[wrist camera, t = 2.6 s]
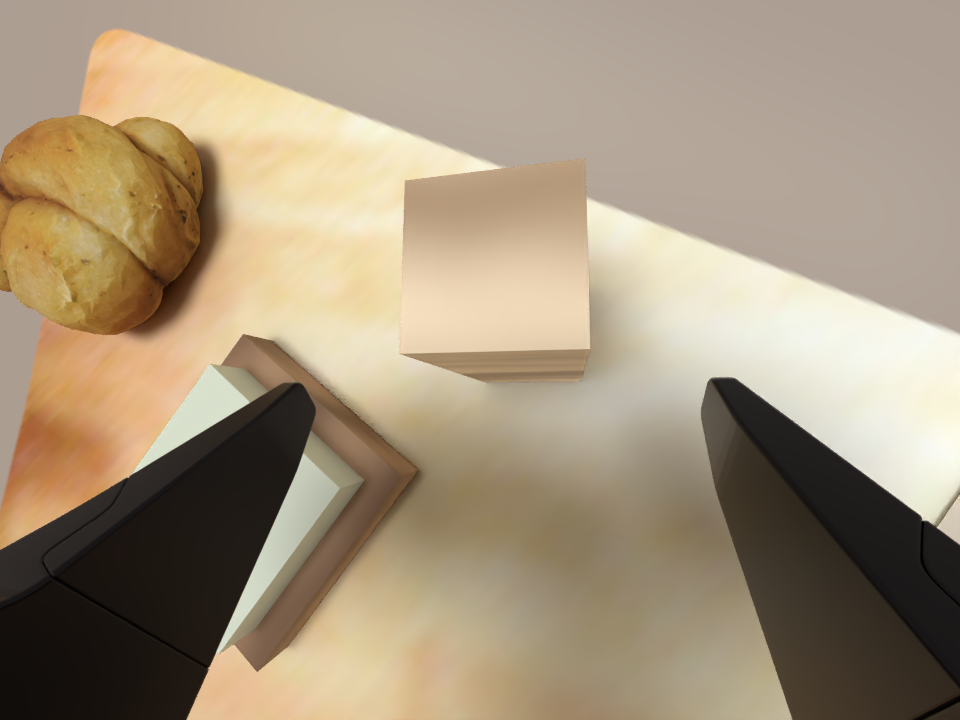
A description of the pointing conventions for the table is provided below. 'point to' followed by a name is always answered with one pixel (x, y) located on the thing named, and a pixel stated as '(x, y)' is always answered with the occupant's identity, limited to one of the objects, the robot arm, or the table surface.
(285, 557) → the sage slab
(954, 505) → the medicine bottle
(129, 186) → the bread roll
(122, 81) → the table surface
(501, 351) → the oak block
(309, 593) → the walnut base slab
